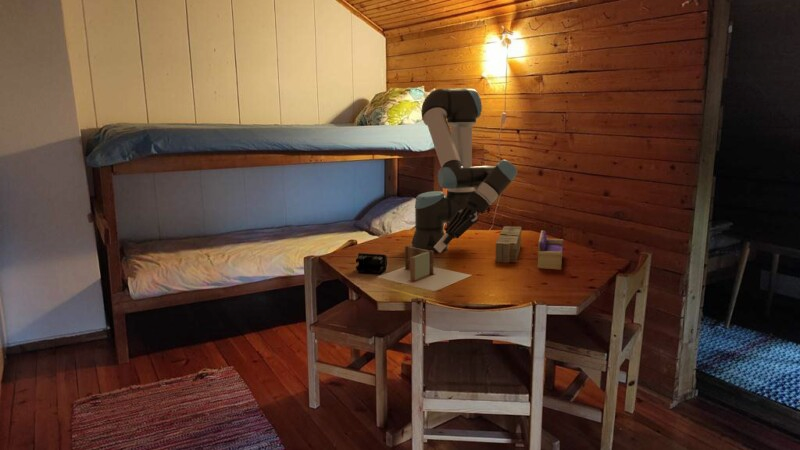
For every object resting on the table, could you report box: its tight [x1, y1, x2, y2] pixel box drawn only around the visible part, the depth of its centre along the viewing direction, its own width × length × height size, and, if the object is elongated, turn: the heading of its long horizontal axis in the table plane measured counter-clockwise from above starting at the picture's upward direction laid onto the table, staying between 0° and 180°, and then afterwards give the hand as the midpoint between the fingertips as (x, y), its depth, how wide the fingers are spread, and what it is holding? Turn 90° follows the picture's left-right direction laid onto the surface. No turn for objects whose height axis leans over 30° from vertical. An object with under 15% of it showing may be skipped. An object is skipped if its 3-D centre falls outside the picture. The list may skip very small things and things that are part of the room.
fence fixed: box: [404, 245, 434, 275], centre depth 201 cm, size 12×2×8 cm, turn 50°
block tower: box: [495, 226, 523, 263], centre depth 227 cm, size 8×8×29 cm
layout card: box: [377, 266, 472, 292], centre depth 197 cm, size 25×22×1 cm
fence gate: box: [410, 252, 430, 281], centre depth 193 cm, size 10×2×8 cm, turn 141°
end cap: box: [355, 252, 388, 276], centre depth 203 cm, size 10×7×7 cm
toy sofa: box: [537, 230, 564, 271], centre depth 214 cm, size 21×9×10 cm, turn 163°
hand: (436, 249), depth 193 cm, fingers closed
